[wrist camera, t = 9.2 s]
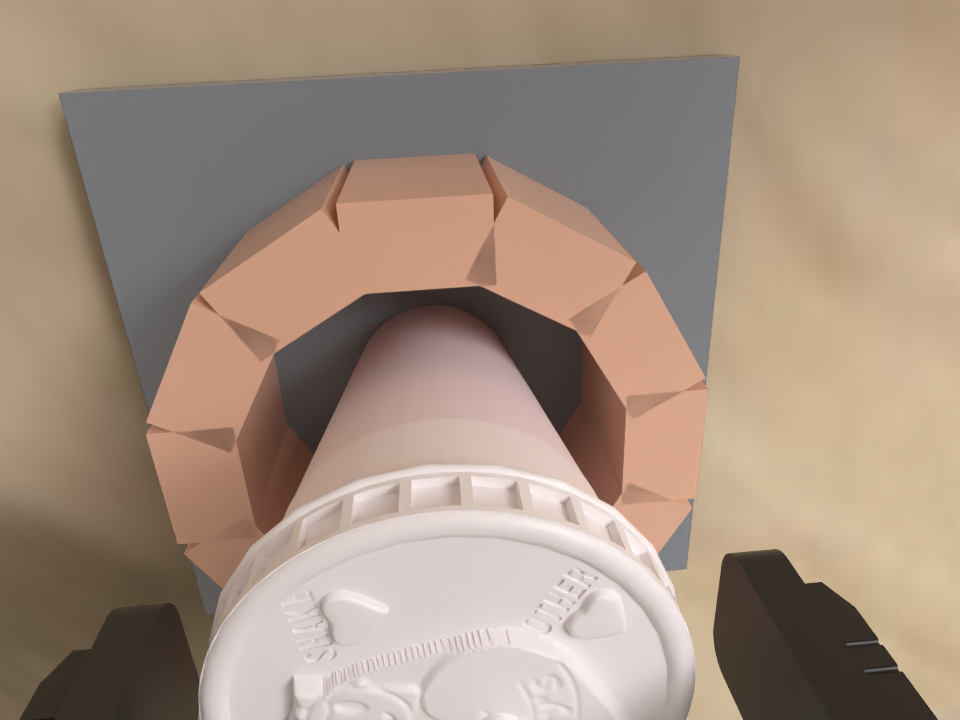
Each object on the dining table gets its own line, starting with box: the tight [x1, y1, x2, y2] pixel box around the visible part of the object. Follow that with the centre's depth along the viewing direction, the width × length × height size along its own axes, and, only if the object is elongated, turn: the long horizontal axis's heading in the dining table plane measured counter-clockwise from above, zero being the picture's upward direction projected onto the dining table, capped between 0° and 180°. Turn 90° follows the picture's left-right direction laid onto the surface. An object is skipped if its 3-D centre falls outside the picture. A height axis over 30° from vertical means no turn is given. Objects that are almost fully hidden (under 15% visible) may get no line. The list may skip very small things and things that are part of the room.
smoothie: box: [198, 305, 696, 720], centre depth 11 cm, size 6×6×14 cm
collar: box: [59, 55, 740, 614], centre depth 16 cm, size 14×14×5 cm
